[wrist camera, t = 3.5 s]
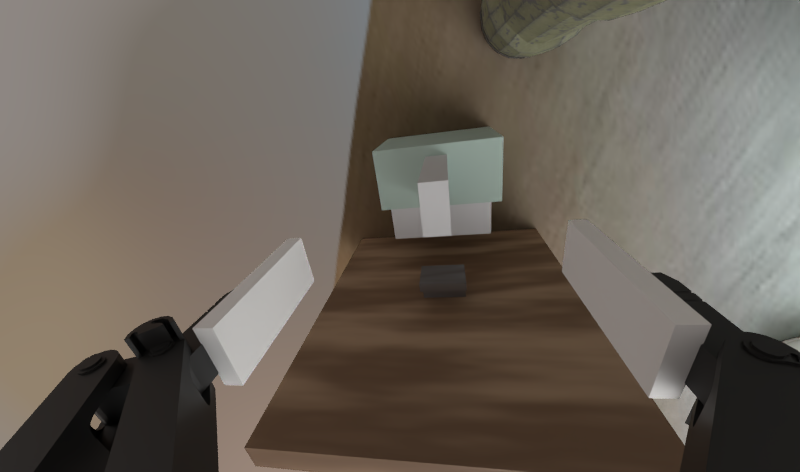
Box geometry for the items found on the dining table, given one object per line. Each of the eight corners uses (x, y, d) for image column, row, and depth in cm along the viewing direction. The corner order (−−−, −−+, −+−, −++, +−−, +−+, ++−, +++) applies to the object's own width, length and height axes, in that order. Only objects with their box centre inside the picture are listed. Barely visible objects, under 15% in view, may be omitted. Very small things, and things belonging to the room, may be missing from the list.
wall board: (358, 220, 41) (224, 416, 16) (537, 207, 37) (737, 449, 12) (371, 283, 45) (284, 512, 21) (531, 279, 41) (666, 560, 16)
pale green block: (388, 138, 35) (342, 175, 19) (489, 126, 33) (531, 156, 17) (398, 209, 39) (367, 289, 23) (488, 203, 37) (523, 285, 21)
